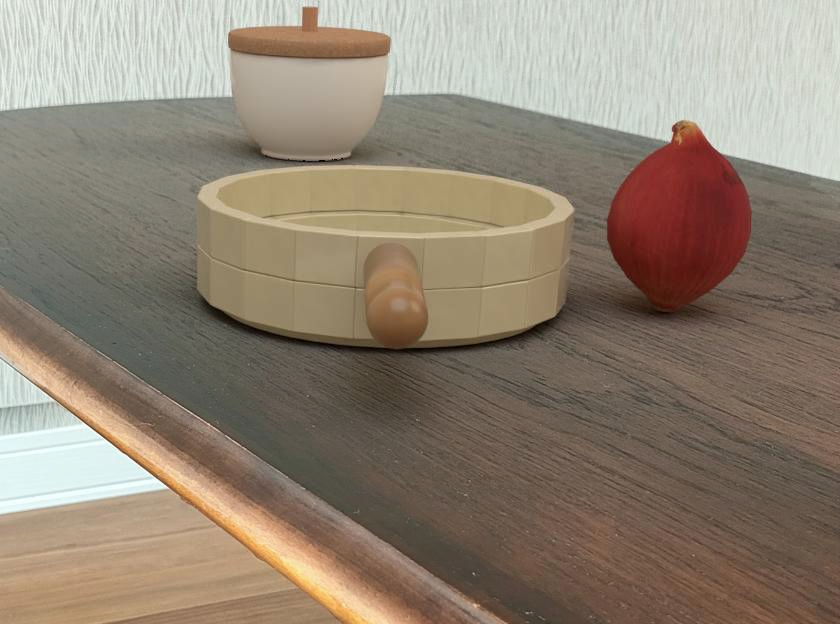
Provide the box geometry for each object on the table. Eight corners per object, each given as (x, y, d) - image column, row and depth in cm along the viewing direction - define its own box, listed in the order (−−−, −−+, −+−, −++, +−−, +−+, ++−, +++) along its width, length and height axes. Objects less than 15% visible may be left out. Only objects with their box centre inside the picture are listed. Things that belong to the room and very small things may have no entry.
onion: (684, 290, 66) (710, 109, 63) (765, 323, 61) (796, 128, 58) (574, 299, 64) (594, 111, 61) (647, 333, 59) (674, 132, 56)
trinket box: (258, 137, 104) (260, -2, 101) (402, 148, 101) (410, 6, 98) (203, 159, 95) (203, 7, 91) (360, 172, 92) (367, 16, 88)
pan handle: (414, 291, 54) (418, 238, 53) (427, 357, 46) (432, 296, 46) (361, 289, 54) (364, 236, 53) (365, 355, 46) (368, 294, 46)
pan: (537, 265, 70) (546, 170, 68) (588, 360, 55) (601, 243, 54) (213, 255, 70) (214, 160, 68) (181, 346, 56) (180, 229, 54)
